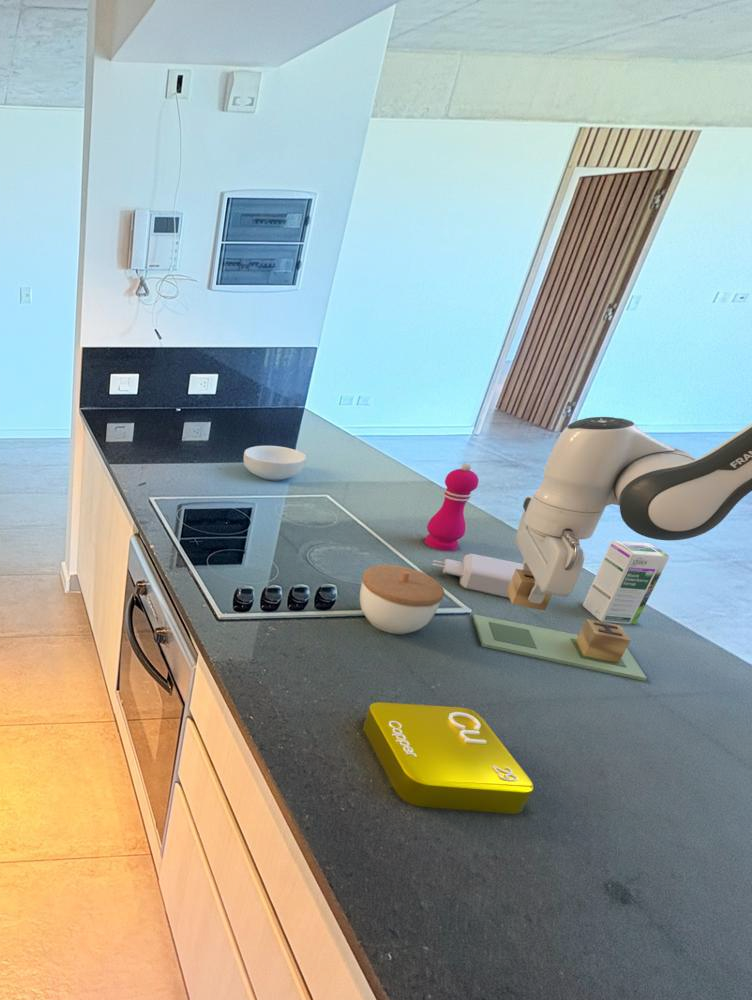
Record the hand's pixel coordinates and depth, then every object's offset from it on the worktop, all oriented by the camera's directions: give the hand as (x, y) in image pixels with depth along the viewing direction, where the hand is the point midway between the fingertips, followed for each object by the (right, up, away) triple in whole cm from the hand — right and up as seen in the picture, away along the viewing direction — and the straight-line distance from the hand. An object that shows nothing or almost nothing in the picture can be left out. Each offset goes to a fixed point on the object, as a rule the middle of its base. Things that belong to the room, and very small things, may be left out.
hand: (529, 592), depth 104 cm
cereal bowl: (-14, +27, +77) cm, 83 cm away
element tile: (-30, -22, -21) cm, 42 cm away
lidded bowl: (-19, -7, +9) cm, 22 cm away
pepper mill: (+9, +7, +37) cm, 38 cm away
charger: (+6, 0, +22) cm, 23 cm away
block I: (0, -1, +1) cm, 2 cm away
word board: (+5, -10, +2) cm, 12 cm away
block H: (+11, -10, -1) cm, 15 cm away
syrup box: (+23, -6, +11) cm, 26 cm away
